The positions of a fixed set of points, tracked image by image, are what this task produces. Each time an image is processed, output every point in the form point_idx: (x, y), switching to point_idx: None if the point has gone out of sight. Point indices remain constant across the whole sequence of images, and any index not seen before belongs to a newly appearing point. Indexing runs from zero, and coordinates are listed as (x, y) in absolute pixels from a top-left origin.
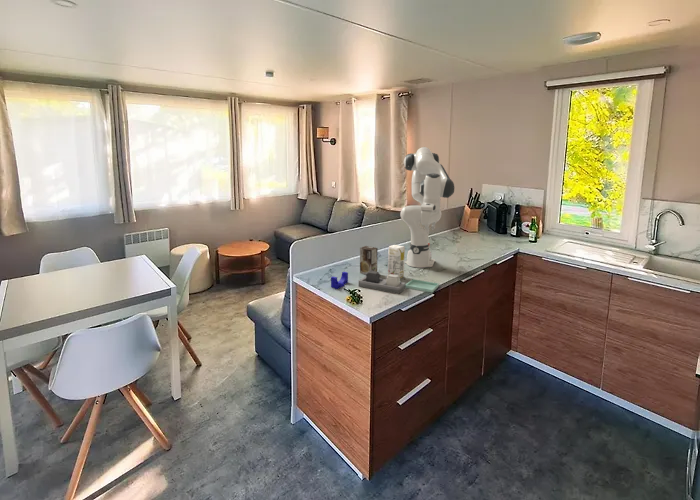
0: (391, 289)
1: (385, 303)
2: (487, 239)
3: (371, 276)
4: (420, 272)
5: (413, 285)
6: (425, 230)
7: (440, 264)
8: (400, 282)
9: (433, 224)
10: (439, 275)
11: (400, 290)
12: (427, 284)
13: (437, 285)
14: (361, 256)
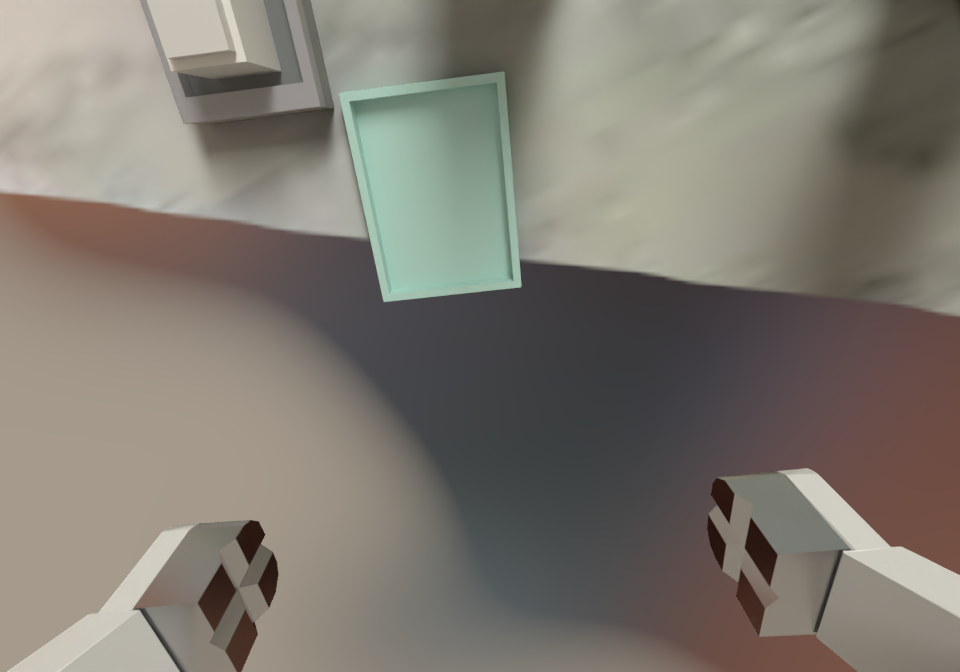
0: None
1: (10, 137)
2: None
3: None
4: (769, 12)
5: (416, 134)
6: (128, 575)
7: None
8: (298, 59)
9: (917, 657)
10: (746, 192)
11: (228, 120)
12: (496, 211)
13: (484, 290)
14: None
